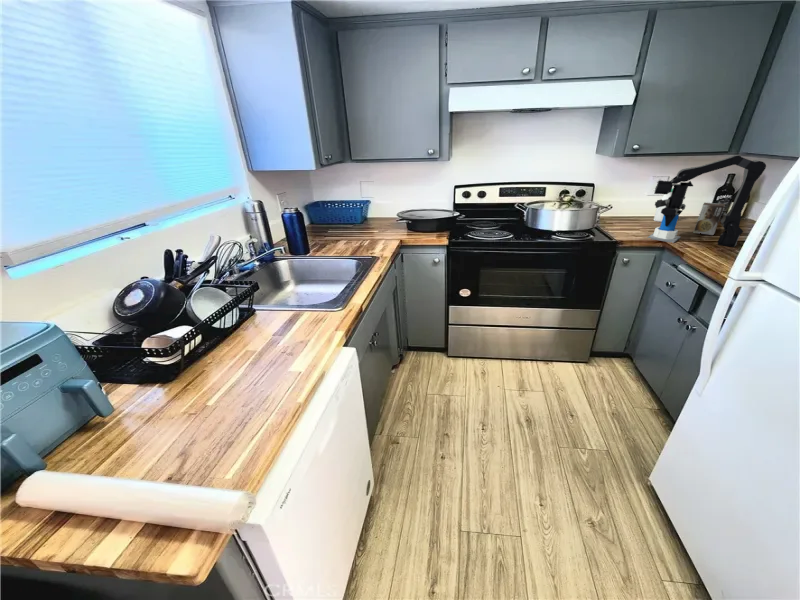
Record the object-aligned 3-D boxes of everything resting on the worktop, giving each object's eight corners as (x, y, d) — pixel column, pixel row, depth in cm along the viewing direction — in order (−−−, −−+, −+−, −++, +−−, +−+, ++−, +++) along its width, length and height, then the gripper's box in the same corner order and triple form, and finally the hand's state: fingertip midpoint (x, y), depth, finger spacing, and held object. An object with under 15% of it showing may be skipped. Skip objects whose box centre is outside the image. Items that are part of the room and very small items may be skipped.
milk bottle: (656, 222, 215) (667, 189, 206) (650, 219, 222) (660, 187, 213) (670, 222, 214) (681, 189, 205) (663, 219, 220) (674, 187, 211)
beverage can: (672, 237, 179) (679, 215, 174) (657, 236, 183) (664, 213, 177) (672, 234, 184) (679, 212, 178) (658, 233, 187) (664, 211, 182)
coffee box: (714, 233, 191) (725, 203, 183) (713, 235, 186) (725, 205, 179) (693, 230, 196) (704, 202, 189) (692, 232, 192) (703, 204, 185)
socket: (680, 238, 183) (683, 229, 181) (673, 242, 176) (676, 233, 174) (654, 234, 192) (657, 225, 189) (647, 238, 185) (650, 229, 183)
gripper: (665, 191, 185) (656, 219, 192) (653, 195, 174) (645, 225, 181) (690, 193, 177) (680, 222, 184) (680, 198, 166) (670, 229, 173)
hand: (668, 224), depth 181 cm, fingers closed on beverage can, 6 cm apart
